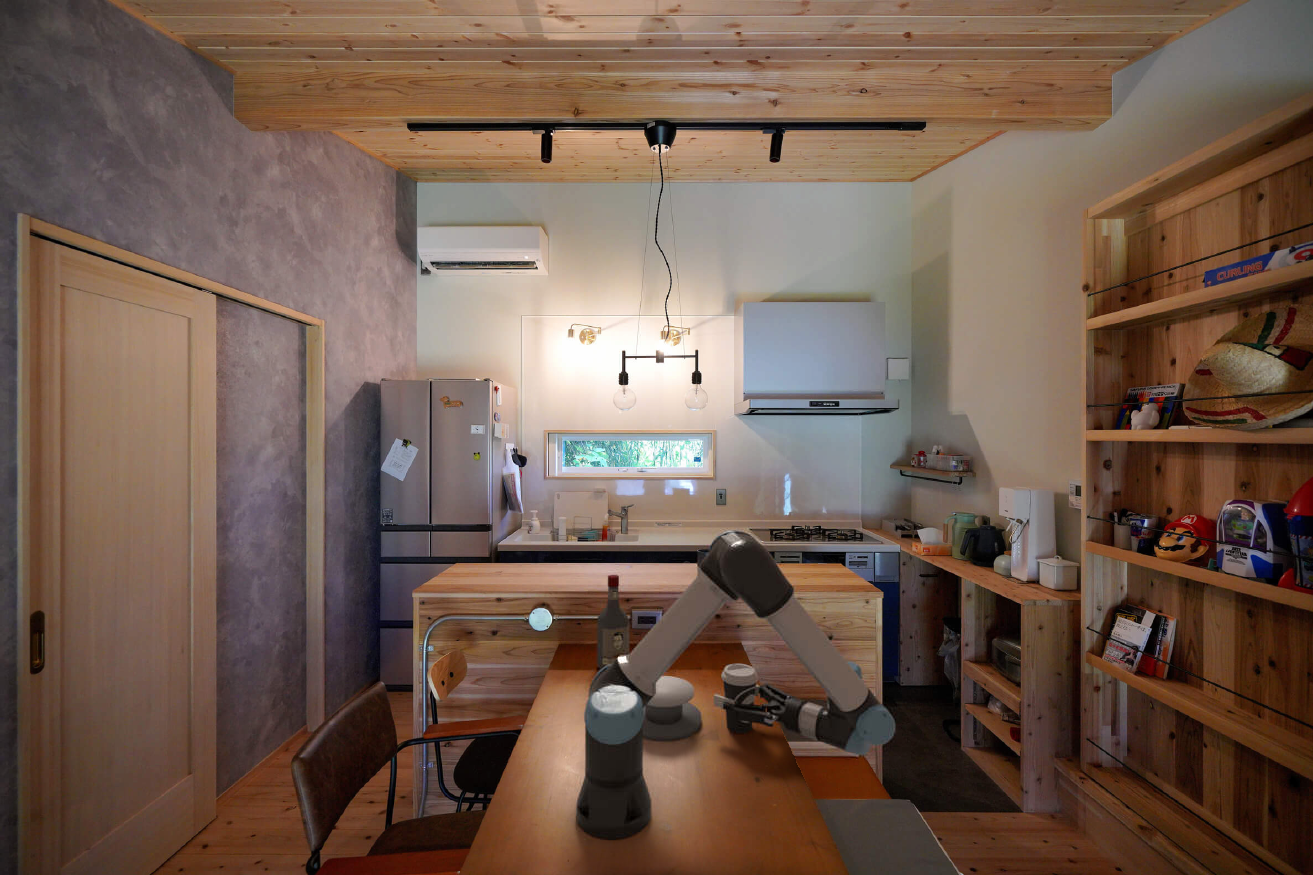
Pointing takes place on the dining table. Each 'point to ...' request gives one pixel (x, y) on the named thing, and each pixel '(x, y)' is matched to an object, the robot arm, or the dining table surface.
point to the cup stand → (671, 711)
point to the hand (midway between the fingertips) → (726, 691)
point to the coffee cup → (739, 692)
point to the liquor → (612, 628)
